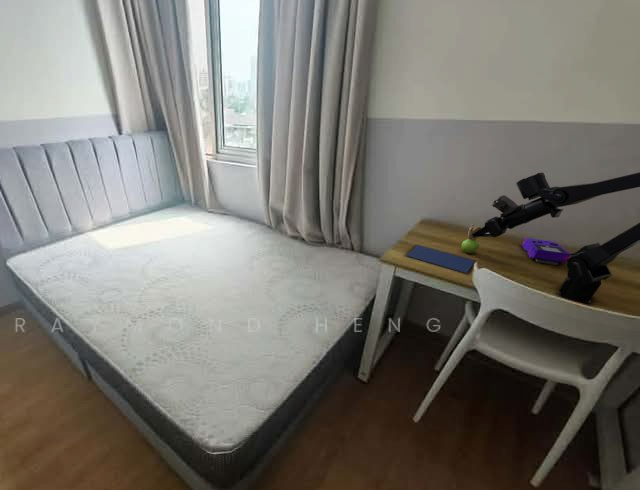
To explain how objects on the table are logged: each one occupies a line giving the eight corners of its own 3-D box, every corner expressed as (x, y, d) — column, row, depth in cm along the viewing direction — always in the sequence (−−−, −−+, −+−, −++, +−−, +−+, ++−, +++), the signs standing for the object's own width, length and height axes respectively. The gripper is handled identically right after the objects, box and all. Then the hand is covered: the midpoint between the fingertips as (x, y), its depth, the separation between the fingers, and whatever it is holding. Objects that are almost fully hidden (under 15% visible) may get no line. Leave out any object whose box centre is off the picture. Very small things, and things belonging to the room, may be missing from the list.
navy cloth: (474, 261, 113) (475, 260, 113) (466, 273, 106) (466, 272, 106) (417, 245, 125) (417, 245, 125) (406, 256, 118) (406, 255, 118)
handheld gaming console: (555, 240, 118) (572, 252, 106) (549, 253, 120) (564, 266, 108) (525, 236, 121) (537, 248, 109) (519, 249, 124) (531, 261, 112)
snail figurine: (453, 250, 121) (465, 221, 114) (466, 248, 122) (478, 219, 116) (466, 256, 116) (478, 226, 110) (479, 254, 118) (492, 224, 111)
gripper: (528, 185, 105) (479, 208, 119) (504, 195, 97) (455, 218, 110) (545, 213, 104) (494, 233, 118) (523, 226, 95) (471, 246, 109)
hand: (479, 232), depth 114 cm, fingers open, 9 cm apart
